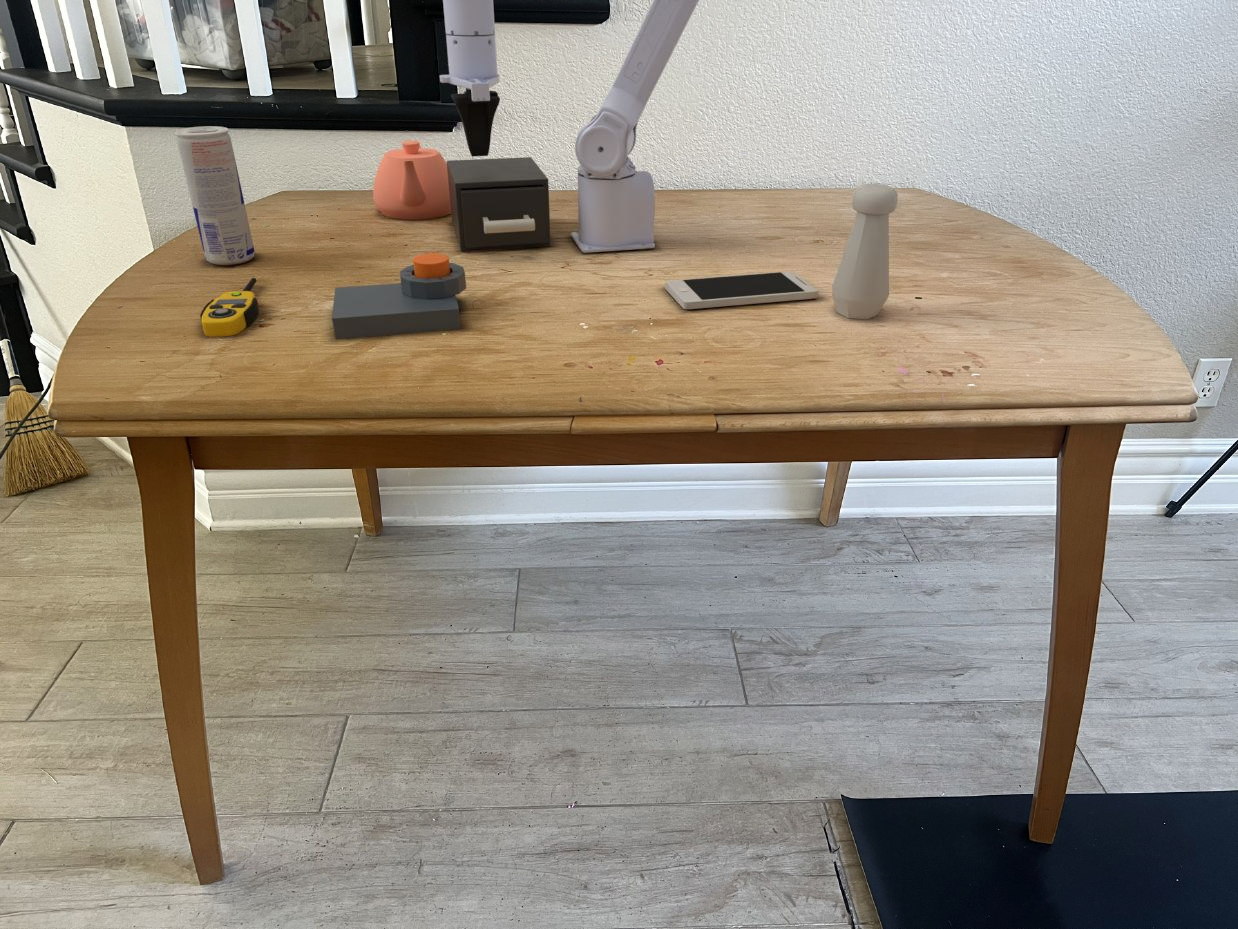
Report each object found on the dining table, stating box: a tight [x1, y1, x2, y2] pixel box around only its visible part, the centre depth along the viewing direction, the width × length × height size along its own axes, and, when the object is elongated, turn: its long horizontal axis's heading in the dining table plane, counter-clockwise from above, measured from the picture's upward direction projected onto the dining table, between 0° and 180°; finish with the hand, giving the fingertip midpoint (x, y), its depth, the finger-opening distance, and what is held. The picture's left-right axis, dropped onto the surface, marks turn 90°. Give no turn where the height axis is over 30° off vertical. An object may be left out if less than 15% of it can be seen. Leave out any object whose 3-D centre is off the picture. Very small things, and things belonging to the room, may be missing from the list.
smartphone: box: [664, 270, 819, 310], centre depth 94 cm, size 7×16×1 cm, turn 105°
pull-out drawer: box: [461, 185, 547, 248], centre depth 109 cm, size 17×10×7 cm, turn 14°
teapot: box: [372, 140, 451, 220], centre depth 121 cm, size 12×18×10 cm
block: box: [331, 262, 467, 340], centre depth 87 cm, size 13×10×4 cm
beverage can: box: [174, 125, 256, 266], centre depth 100 cm, size 6×6×15 cm
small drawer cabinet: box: [446, 156, 551, 253], centre depth 112 cm, size 13×11×8 cm
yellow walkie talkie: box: [199, 277, 259, 338], centre depth 89 cm, size 5×2×15 cm
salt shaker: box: [831, 183, 899, 320], centre depth 87 cm, size 6×6×13 cm
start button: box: [412, 252, 450, 278], centre depth 88 cm, size 4×4×2 cm
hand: (479, 155), depth 107 cm, fingers closed
